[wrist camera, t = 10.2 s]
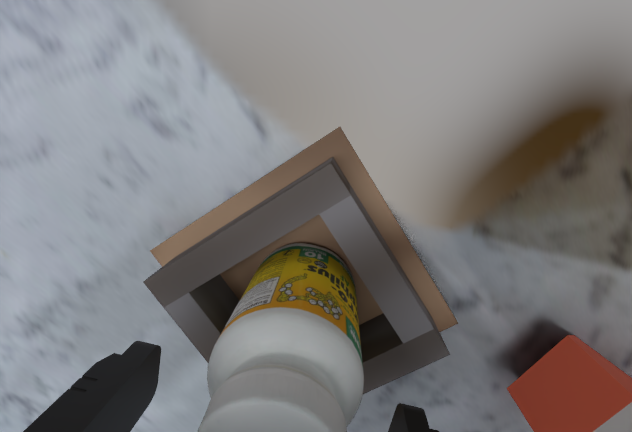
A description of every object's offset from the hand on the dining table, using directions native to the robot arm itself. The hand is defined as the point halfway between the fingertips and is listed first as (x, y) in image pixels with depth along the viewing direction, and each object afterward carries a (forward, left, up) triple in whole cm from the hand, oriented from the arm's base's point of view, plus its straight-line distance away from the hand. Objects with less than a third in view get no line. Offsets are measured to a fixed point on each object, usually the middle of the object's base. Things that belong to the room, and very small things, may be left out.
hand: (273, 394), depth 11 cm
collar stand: (0, 0, -9) cm, 9 cm away
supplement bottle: (0, 0, -7) cm, 7 cm away
